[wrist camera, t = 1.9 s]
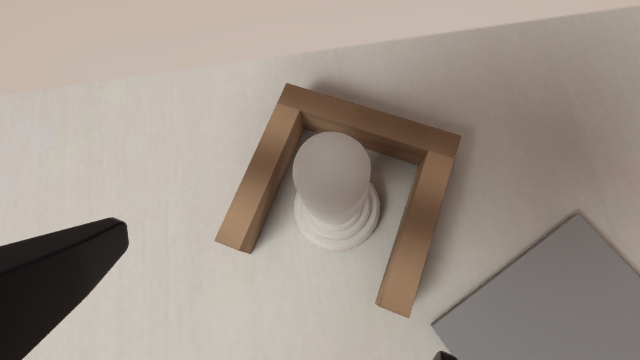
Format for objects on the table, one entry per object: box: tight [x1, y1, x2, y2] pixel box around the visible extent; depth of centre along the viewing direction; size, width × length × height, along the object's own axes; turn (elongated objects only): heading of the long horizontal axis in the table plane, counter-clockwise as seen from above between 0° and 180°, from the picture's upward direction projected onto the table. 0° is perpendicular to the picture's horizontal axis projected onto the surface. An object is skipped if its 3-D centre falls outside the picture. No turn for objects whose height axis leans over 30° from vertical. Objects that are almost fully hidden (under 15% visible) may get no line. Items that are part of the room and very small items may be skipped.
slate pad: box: [431, 214, 640, 360], centre depth 18 cm, size 11×11×1 cm
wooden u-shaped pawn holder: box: [214, 83, 461, 318], centre depth 20 cm, size 10×11×2 cm
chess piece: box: [292, 132, 380, 251], centre depth 17 cm, size 5×5×9 cm
